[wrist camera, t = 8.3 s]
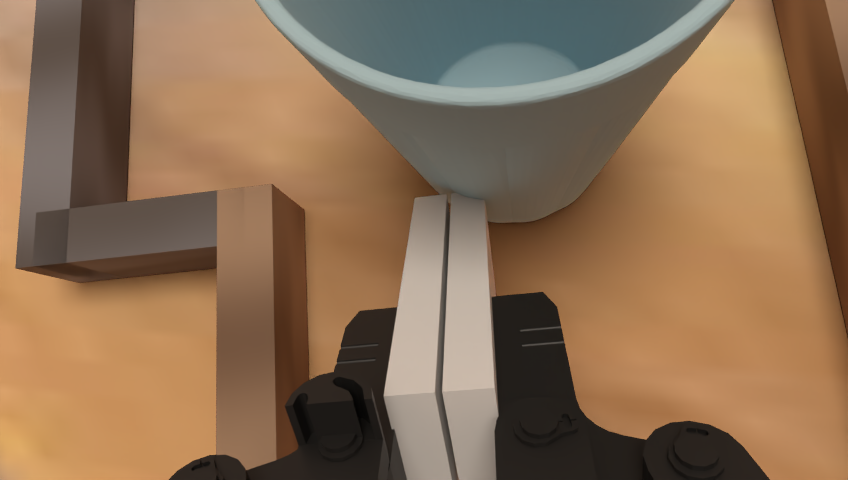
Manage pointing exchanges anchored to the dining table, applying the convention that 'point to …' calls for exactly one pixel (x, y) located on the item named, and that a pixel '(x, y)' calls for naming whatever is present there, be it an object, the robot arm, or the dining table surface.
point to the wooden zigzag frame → (277, 203)
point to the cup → (500, 83)
